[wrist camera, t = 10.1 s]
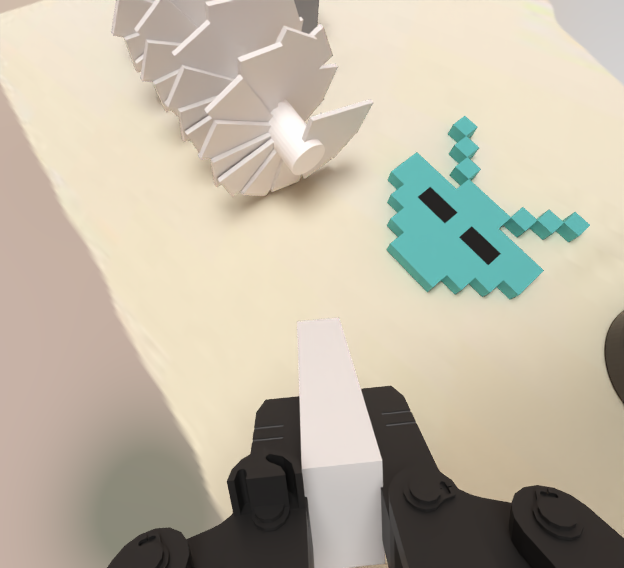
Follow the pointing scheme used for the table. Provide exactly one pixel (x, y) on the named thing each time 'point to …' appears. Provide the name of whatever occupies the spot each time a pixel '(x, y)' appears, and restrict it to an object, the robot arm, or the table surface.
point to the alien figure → (463, 226)
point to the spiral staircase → (241, 85)
